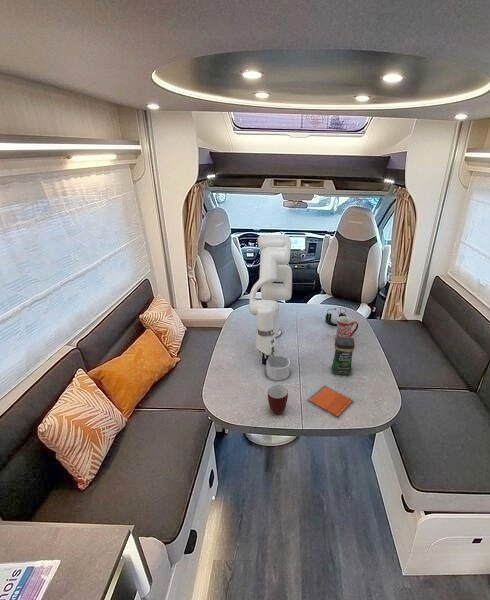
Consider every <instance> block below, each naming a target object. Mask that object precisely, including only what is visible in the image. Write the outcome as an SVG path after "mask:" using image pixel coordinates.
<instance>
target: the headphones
mask: <svg viewBox="0 0 490 600" xmlns="http://www.w3.org/2000/svg"><path fill="white" fill-rule="evenodd" d="M343 309H344V311H343V312H342V307H340V308H339V310H340V311H339V313H338V317H341V316H346V317H348V316H347V315H346V312H347V310H346V308H345V307H343ZM330 310H335V311H336V310H337V308H336V307H335V308H329V309H328V311H326V312H327V313H326V314H325V318H324V320H325V322H326V324H327V325H329V326H331V327H335V328H337V323H335V322H332V316H333V314H332V313H330V312H329V311H330Z"/></svg>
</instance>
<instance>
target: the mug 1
mask: <svg viewBox="0 0 490 600" xmlns="http://www.w3.org/2000/svg"><path fill="white" fill-rule="evenodd" d="M288 397H289V391H288V389H287V388H286V387H285V386H283V385H281V384H280V385H278V384H277V385H273V386H271V387H269V388H268V390H267V402H268V406H269V409H270V410H271V412H272V413H273V414H274V415H278V416H279V415H281V414H282V413H283V412H284V411H285V409H286V406H287V402H288Z"/></svg>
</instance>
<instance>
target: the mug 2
mask: <svg viewBox="0 0 490 600" xmlns="http://www.w3.org/2000/svg"><path fill="white" fill-rule="evenodd" d="M346 316H347V315H346ZM346 316H341V317H339V316H338V317H337V318H336V322H337V323H336V324H337V327H336V337H348V338H352V336H353V335H354V334H355V333H356V332H357V331H358V329H359V322H357V321H354V319H353V318H352V317H349V316H347V317H346ZM354 325H356V326H355V328H354V329H353V331H352V327H353V326H354Z"/></svg>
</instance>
